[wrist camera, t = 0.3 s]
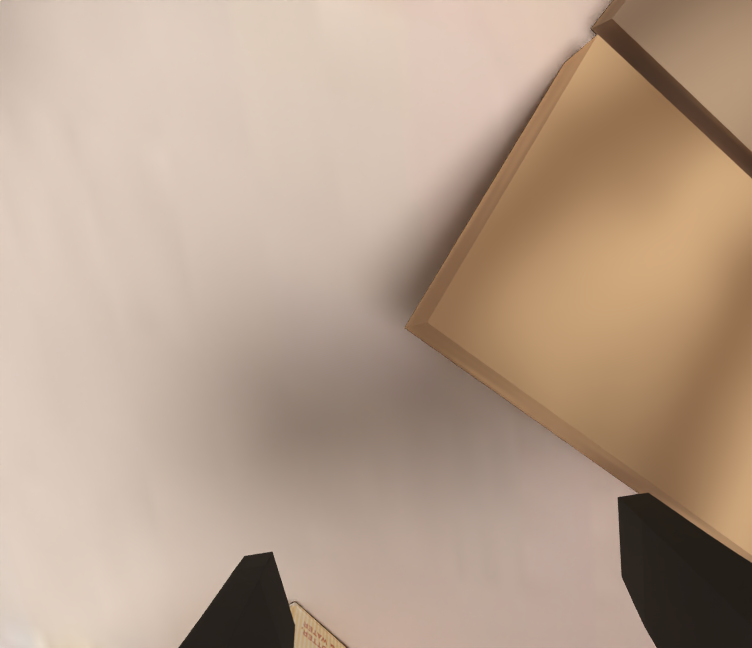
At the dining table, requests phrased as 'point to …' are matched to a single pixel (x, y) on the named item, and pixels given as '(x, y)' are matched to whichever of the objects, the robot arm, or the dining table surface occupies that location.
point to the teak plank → (615, 292)
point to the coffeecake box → (310, 631)
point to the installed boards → (692, 61)
